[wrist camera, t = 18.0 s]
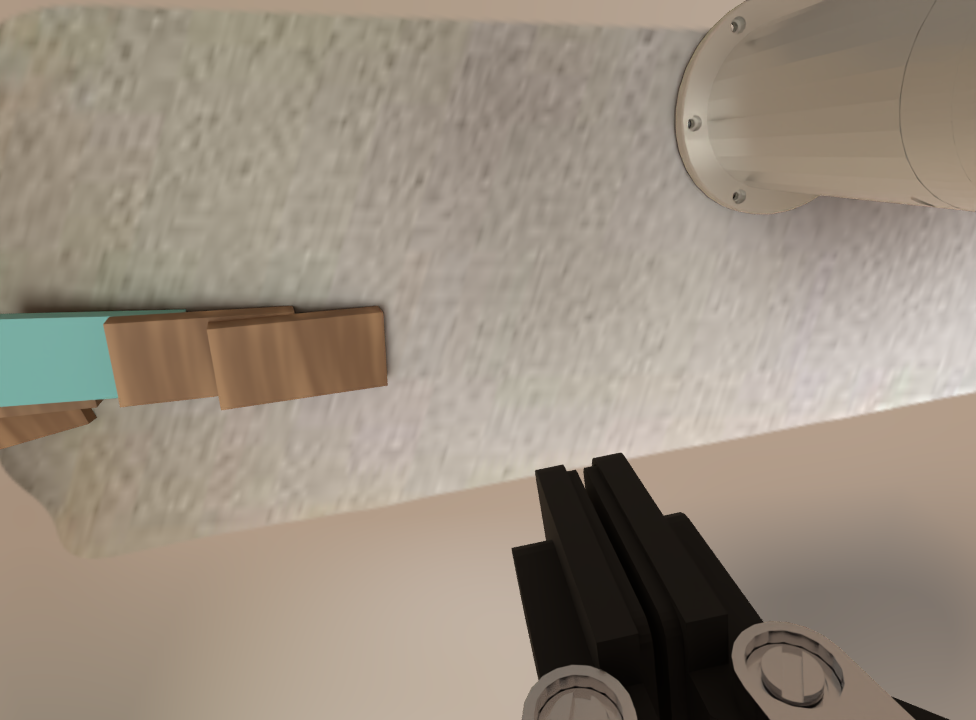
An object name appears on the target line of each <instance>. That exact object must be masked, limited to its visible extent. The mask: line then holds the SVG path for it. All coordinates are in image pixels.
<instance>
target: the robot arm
mask: <svg viewBox="0 0 976 720" xmlns="http://www.w3.org/2000/svg"><path fill="white" fill-rule="evenodd" d="M731 24H732V25H733V26H734V30H733V31H732V30H731ZM688 120H690V121H691V123H692V124H691V127H690V128H689V129H688V126H687V124H688ZM676 136H677V142H678V148H679V152H680V155H681V158H682V160H683V163H684V165H685V168H686V170H687V172H688V173H689V175H690V176H691V178H692V179H693V181H694V183H695V184H696V185H697V186H698V187H699V188H700V189H701V190H702V191H703V192H704V193H705V194H706V195H707V196H708V197H709V198H711V199H712V200H714V201H715V202H717V203H719V204H720V205H722V206H724V207H727V208H730V209H733V210H736V211H739V212H745V213H750V214H775V213H780V212H785V211H790V210H792V209H795V208H797V207H800V206H802V205H805V204H807V203H809V202H810V201H812V200H814V199H815V198H817V197H818V196H820V195H822V196H832V197H841V198H851V199H860V200H870V201H879V202H889V203H898V204H908V205H917V206H927V207H936V208H946V209H955V210H965V211H974V212H976V0H746V1H744V2H743V3H741V4H740V5H738V6H737V7H735V8H734V9H732V10H731V11H729V12H728V13H727V14H726V15H725V16H724V17H723V18H721V19H720V20H719V21H718V22H717V23H716V24H715V25H714V26H713V27H712V28H711V29H710V31H709V32H708V33H707V35H706V36H705V37H704V39H703V40H702V41H701V42H700V44H699V45H698V46H697V48H696V50H695V52H694V54H693V56H692V58H691V60H690V62H689V64H688V65H687V67H686V70H685V73H684V76H683V79H682V82H681V85H680V88H679V93H678V99H677V105H676ZM734 193H735V197H734V199H733V194H734ZM535 475H536V482H537V488H538V494H539V500H540V506H541V512H542V518H543V524H544V531H545V537H546V541H543V542H538V543H533V544H528V545H524V546H519V547H514V548H512V554H513V559H514V564H515V570H516V575H517V579H518V585H519V589H520V595H521V600H522V604H523V609H524V614H525V619H526V624H527V629H528V633H529V638H530V643H531V647H532V652H533V656H534V661H535V666H536V671H537V675H538V680H539V681H538V682H537V683H536V684H535V685H534V686H533V687H532V688H531V690H530V692H529V694H528V696H527V698H526V700H525V702H524V708H523V715H522V720H949V719H947V718H944V717H941V716H939V715H936V714H934V713H931V712H929V711H927V710H924V709H922V708H919V707H917V706H914V705H912V704H909V703H907V702H904V701H902V700H899V699H896V698H894V697H891V696H890V695H889V694H888V693H887V692H886V691H884V690H883V689H882V688H881V687H880V686H879V685H878V684H877V683H876V682H875V681H874V680H873V679H872V678H871V677H870V676H869V675H868V674H867V673H866V672H864V671H863V670H862V669H861V668H860V667H859V666H858V665H857V664H856V663H855V662H854V661H853V660H852V659H851V658H850V657H848V656H847V654H846V653H845V652H843V651H842V650H841V649H840V648H839V647H838V646H836V645H835V644H834V643H833V642H831V641H830V640H829V639H827V638H826V637H825V636H823V635H821V634H819V633H817V632H815V631H813V630H811V629H809V628H807V627H804V626H800V625H796V624H793V623H789V622H774V621H769V622H763V621H762V619H760V617H759V615H758V614H757V612H756V611H755V610H754V608H753V607H752V606H751V604H750V603H749V601H748V600H747V599H746V597H745V596H744V595H743V593H742V592H741V590H740V589H739V588H738V586H737V585H736V583H735V582H734V581H733V579H732V578H731V577H730V575H729V574H728V572H727V571H726V569H725V568H724V567H723V565H722V564H721V563H720V561H719V560H718V558H717V557H716V556H715V554H714V553H713V551H712V550H711V549H710V547H709V546H708V545H707V543H706V542H705V540H704V539H703V538H702V536H701V535H700V533H699V532H698V531H697V529H696V528H695V526H694V525H693V524H692V522H691V521H690V519H689V518H688V517H687V516H686V515H685V514H684V513H681V512H679V513H674V514H670V515H665V516H663V514H662V513H661V511H660V510H659V508H658V507H657V505H656V504H655V502H654V500H653V499H652V497H651V496H650V495H649V493H648V491H647V490H646V488H645V487H644V485H643V484H642V482H641V481H640V479H639V478H638V476H637V475H636V473H635V472H634V470H633V468H632V467H631V465H630V464H629V462H628V461H627V459H626V458H625V456H624V455H623V454H622V453H616V454H611V455H606V456H602V457H597V458H593V459H592V466H591V467H586V468H584V481H585V488H584V485H583V483H582V481H581V479H580V477H579V475H578V473H577V471H576V470H572V471H566V469H565V467H564V465H558V466H554V467H549V468H544V469H539V470H535Z"/></svg>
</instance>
